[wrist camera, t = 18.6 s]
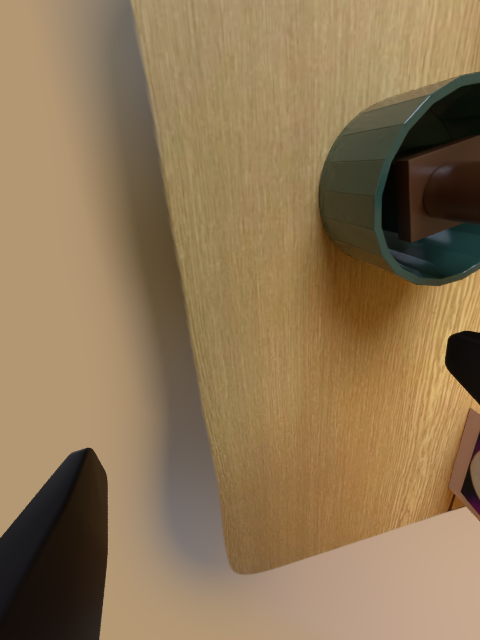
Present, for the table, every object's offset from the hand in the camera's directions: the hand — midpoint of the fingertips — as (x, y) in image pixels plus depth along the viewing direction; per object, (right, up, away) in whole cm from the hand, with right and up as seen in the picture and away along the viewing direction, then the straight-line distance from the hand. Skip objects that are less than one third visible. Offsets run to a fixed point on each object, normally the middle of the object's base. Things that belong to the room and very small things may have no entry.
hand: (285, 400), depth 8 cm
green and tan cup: (+8, +10, +12) cm, 18 cm away
